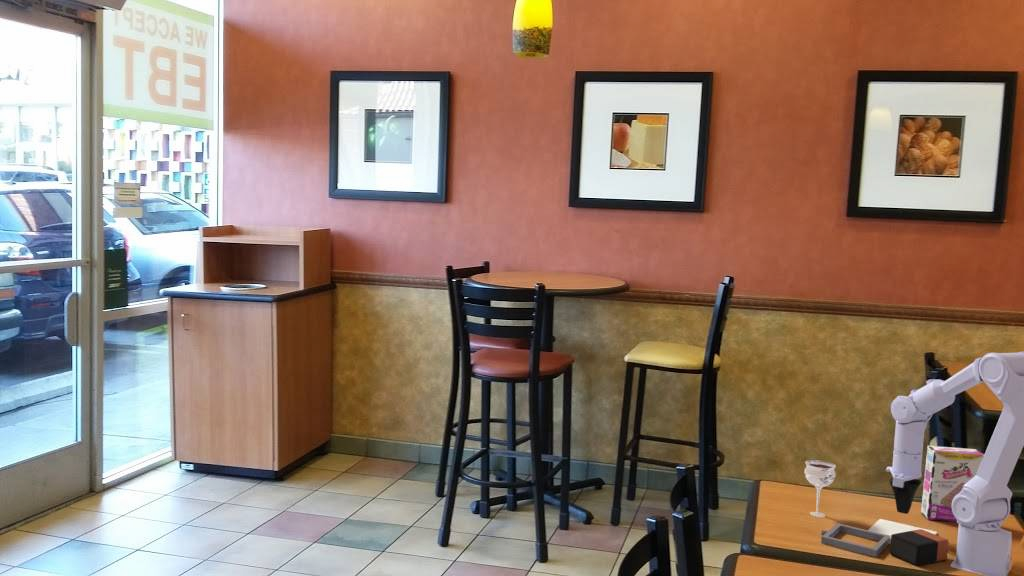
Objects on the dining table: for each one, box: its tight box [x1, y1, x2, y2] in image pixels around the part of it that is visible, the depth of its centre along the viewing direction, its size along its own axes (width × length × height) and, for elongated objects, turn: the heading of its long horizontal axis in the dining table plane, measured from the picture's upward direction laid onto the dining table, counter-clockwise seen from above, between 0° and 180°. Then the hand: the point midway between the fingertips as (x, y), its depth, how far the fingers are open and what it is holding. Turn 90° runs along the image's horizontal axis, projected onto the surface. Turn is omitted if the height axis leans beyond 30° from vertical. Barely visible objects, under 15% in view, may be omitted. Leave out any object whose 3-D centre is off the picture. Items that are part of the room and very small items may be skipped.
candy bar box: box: [920, 445, 985, 523], centre depth 203 cm, size 11×5×16 cm, turn 84°
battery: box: [889, 529, 949, 566], centre depth 179 cm, size 4×7×10 cm
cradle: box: [820, 523, 891, 558], centre depth 186 cm, size 12×11×2 cm
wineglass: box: [803, 459, 837, 518], centre depth 202 cm, size 7×7×12 cm
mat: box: [868, 518, 938, 541], centre depth 192 cm, size 12×12×1 cm
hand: (903, 512), depth 192 cm, fingers closed
